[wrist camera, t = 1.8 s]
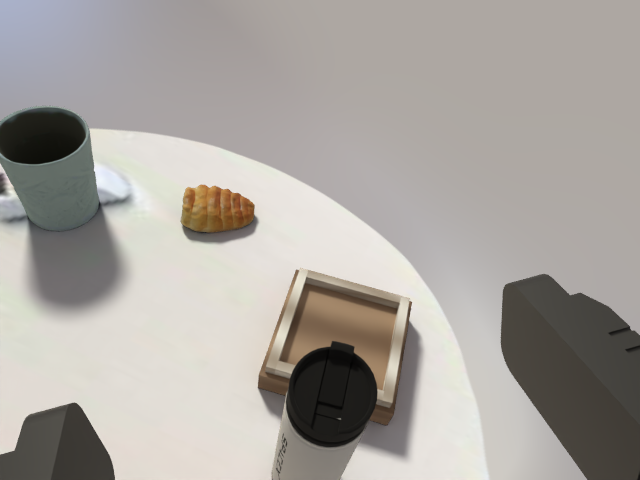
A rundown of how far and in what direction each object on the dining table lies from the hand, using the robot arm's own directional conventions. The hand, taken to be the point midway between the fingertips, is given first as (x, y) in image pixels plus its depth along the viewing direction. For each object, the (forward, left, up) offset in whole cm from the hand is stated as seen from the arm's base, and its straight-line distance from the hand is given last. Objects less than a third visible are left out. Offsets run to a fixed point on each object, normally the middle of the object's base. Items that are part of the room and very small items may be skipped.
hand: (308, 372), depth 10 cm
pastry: (+41, +19, -45) cm, 64 cm away
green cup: (+35, +37, -45) cm, 68 cm away
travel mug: (+12, -1, -45) cm, 47 cm away
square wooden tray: (+26, -1, -45) cm, 52 cm away
